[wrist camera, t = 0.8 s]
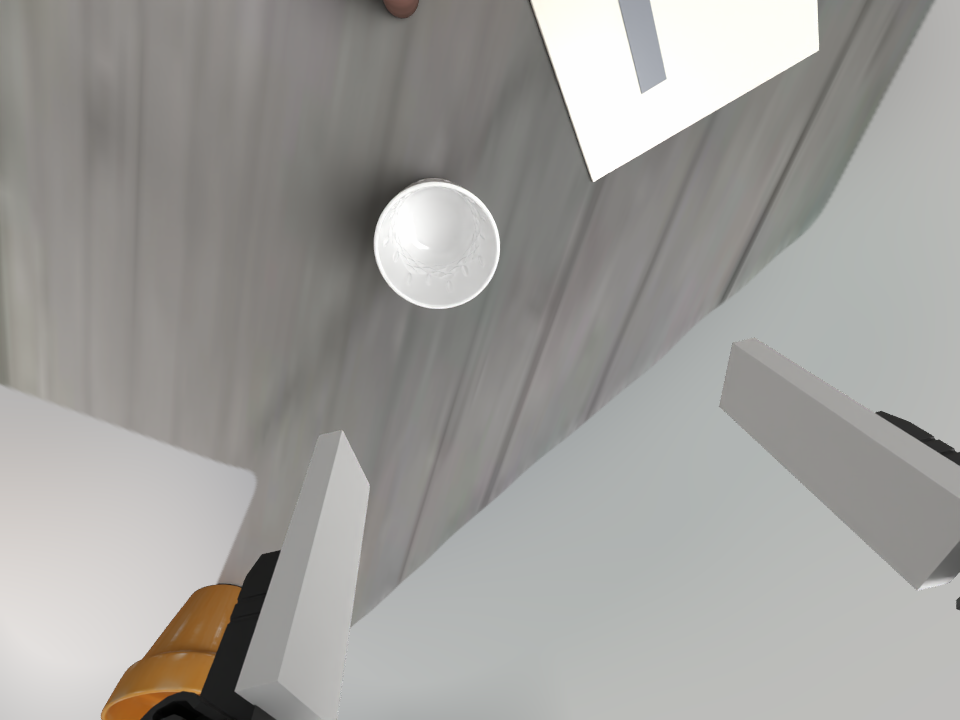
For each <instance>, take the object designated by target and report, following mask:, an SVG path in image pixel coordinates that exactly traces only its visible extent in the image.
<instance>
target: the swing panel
mask: <svg viewBox="0 0 960 720" xmlns="http://www.w3.org/2000/svg"><path fill="white" fill-rule="evenodd" d="M383 2H384V4H385V6H386V8H387V9H388V10H389V12H390V13H391V14H393V15H394V16H396V17H399V18H407V17H409V16H411V15H412V14H413V13H414V12H415V11H416V9H417V6H418V3H419V0H383Z"/></svg>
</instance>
